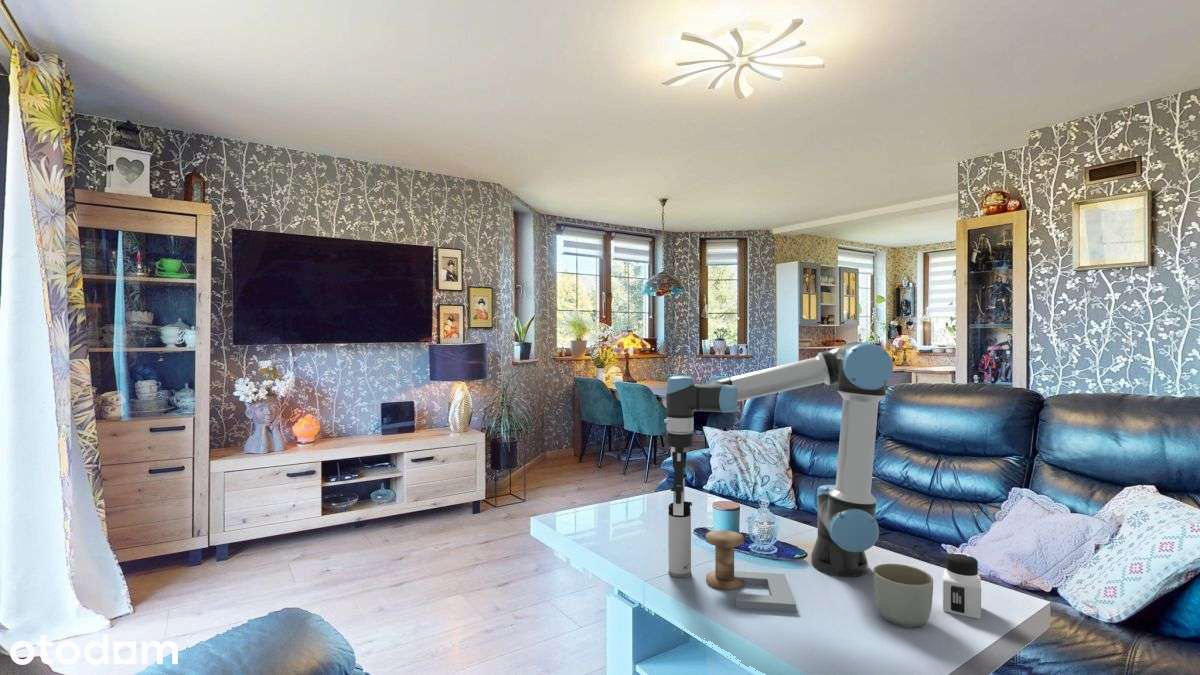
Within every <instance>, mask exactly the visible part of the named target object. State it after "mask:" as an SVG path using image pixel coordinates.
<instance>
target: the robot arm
mask: <svg viewBox="0 0 1200 675" xmlns="http://www.w3.org/2000/svg"><path fill="white" fill-rule="evenodd" d="M893 372H894V362H893V360H892V357H891V356H890V354H889V353H888V351H886V349H884V348H883V347H882V346H879V345H878V344H875V343H873V342H868V341H865V342H864V341H862V342H860V341H859V342H858V341H854V342H849V343H846V344H842V345H840V346H837V347H834V348H832V349H828V350H825V351H821V352H818V353H817V355H816V356H815V357H811V358H806V359H803V360H798V361H795V362H790V363H786V364H780V365H777V366H773V367H772V366H771V367H769V368H764V369H759V370H757V371H756V370H755V371H752V372H747V373H743V374H739V375H734V376H731V377H725V378H723V379H714V380H710V381H708V382H707V383H706V384H700V383H698V384H697V383H695V380H694V377H692V376H685V375H684V376H682V375H681V376H678V375H677V376H670V377H669V378H668V379H667V381H666V392H665V394H666V395H665V396H666V397H665V399H666V404H665V405H666V408H665V409H666V412H665V413H666V419H664V420H663V422H664V423H665V424H666V425H665V426H666V431H667V432H666V434H665V444H666V446H667V447H669V448H674V450H673V451H672V454H671V459H672V468H673V487H671V488H670V491H671V492H673V493H672V494H673V498H672V500H673V501H672V503H673V515H681V516H683V506H684V501H685V487H686V486H685V482H686V480H685V478H687V477H688V474H687V473H685V472H686V471H685V469H686V463H687V462H686V461H687V457H688V455H687V453H688V452H687V451H685V448H687V449H688V448H691V447H693V446H694V434H693V431H694V429H695V428H694V427H695V425H694V424H695V421H694V412H710V413H711V412H713V413H724V414H727V413H735V412H737V410H738V402H742V401H746V400H751V399H755V398H760V397H764V396H765V397H766V396H769V395H773V394H778V393H783V392H787V391H792V390H796V389H801V388H805V387H810V386H814V385H820V384H823V383H824V384H826V385H827V386H830V385H834V384H837V393H838V394H839V395H840V396H841V398H842V408H841V418H840V420H841V421H840V432H839V443H838V455H837V464H836V466H837V467H836V478H835V484H825V485H824V484H823V485H820V486H818V488H817V494H816V499H817V502H816V503H817V505H816V506H817V508H816V509H817V537H816V541H815V543H814V546H813V548H812V552H811V555H810V559H811V560H810V563H811V566H813V567H814V568H815V569H816V570H819V571H821V572H824V573H826V574H830V575H834V576H838V577H858V576H859V577H860V576H863V575H865V574H867V573H868V571H869V562H868V558H867V556H866V553H865V551H868V550H870V548H872V547H874V545H875V544H876V543H877V541H878V540H879V537H880V536H879V535H880V528H879V524H878V521H877V520H876V510H877V509H876V508H877V498H876V497H875V496H874V495H873V494H872V482H873V481H872V480H873V470H874V459H875V446H876V437H877V436H876V435H877V424H878V421H877V420H878V410H879V403H880V401H881V400H882V399H884V398H885V397H886V395H887V394H886V393H887V384H888V382H889V381H890V379H891V377H892V376H893V374H894V373H893Z"/></svg>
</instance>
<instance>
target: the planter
mask: <svg viewBox="0 0 1200 675" xmlns="http://www.w3.org/2000/svg"><path fill="white" fill-rule="evenodd" d="M872 573H873V587H874V588H873V589H874V599H875V604H876V608H877V611H878V612H879V614H880V615H881V616H882V617H883V618H884V619H885V620H887V621H888V622H890V623H892V624H893V625H896V626H899V627H902V628H917V627H920V626H923V625H925V624H926V623H927V622H928V621H929V619H930V617H931V612H932V605H933V594H934V578H933V576H932V575H931V574H930V573H929V572H926V571H925V570H922V569H920V568H917V567H914V566H910V565H906V564H899V563H883V564H877V565H876V566H875V567H874V568H873V572H872Z"/></svg>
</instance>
